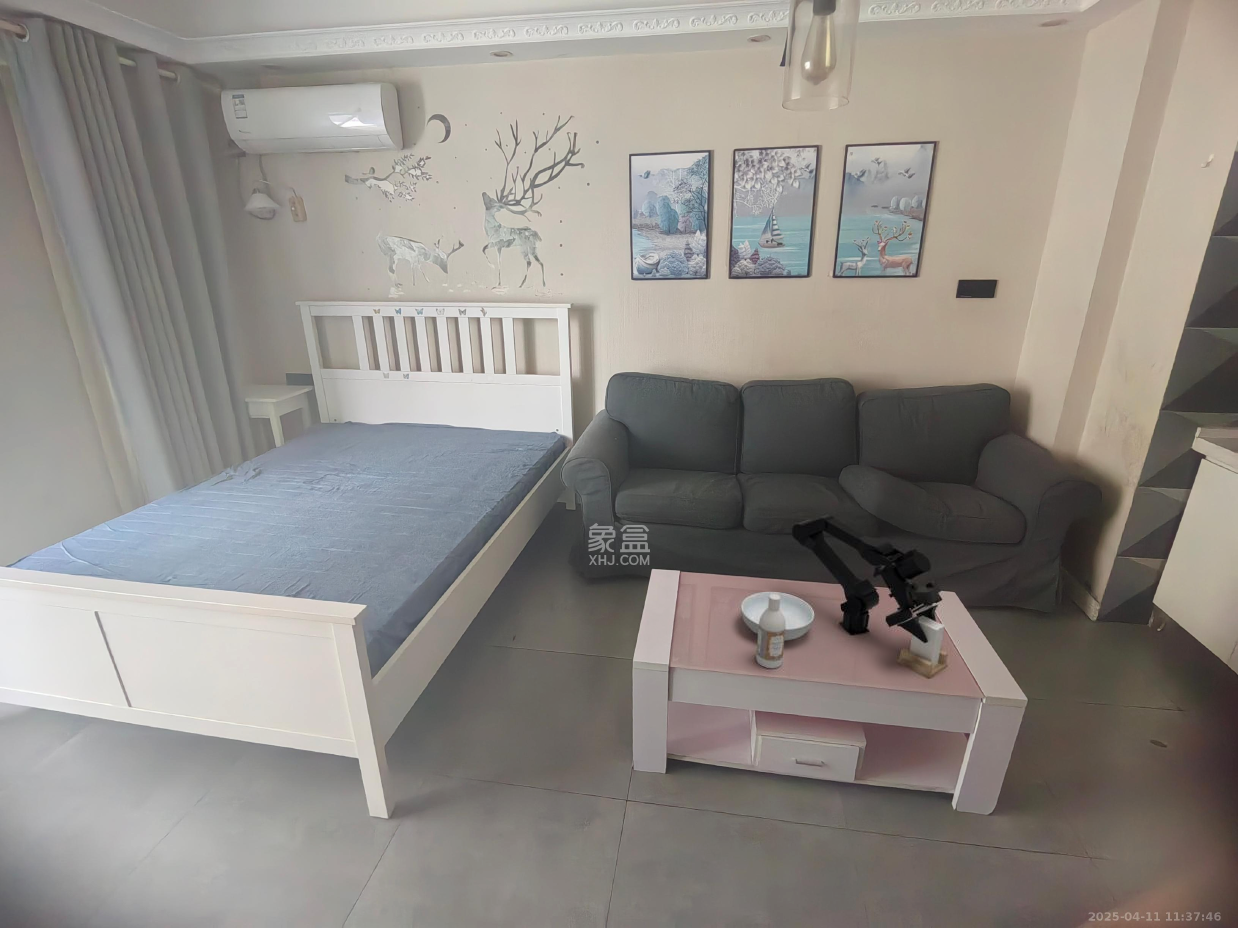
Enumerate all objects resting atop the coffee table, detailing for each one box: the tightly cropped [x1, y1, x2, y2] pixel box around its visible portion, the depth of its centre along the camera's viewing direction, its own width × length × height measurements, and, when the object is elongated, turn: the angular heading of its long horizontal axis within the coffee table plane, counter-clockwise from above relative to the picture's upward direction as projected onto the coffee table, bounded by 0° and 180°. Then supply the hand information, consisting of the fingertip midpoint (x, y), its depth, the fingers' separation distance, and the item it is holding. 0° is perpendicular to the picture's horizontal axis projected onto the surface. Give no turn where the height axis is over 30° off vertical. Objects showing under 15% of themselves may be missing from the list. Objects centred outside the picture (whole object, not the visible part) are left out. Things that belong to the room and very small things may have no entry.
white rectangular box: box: [909, 616, 945, 668], centre depth 164 cm, size 6×4×12 cm, turn 35°
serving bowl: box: [740, 591, 815, 641], centre depth 181 cm, size 21×21×7 cm
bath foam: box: [755, 594, 786, 669], centre depth 164 cm, size 7×7×20 cm
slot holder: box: [896, 648, 949, 679], centre depth 166 cm, size 9×9×4 cm
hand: (932, 638), depth 163 cm, fingers open, 5 cm apart
